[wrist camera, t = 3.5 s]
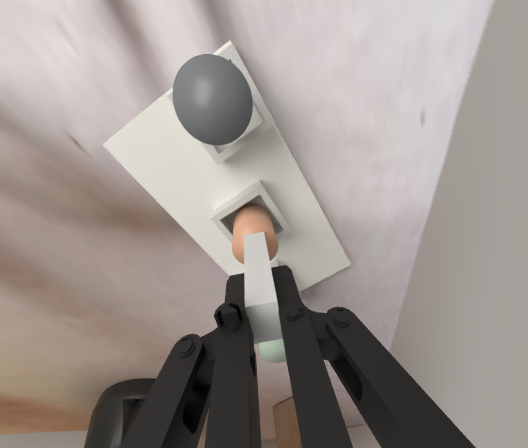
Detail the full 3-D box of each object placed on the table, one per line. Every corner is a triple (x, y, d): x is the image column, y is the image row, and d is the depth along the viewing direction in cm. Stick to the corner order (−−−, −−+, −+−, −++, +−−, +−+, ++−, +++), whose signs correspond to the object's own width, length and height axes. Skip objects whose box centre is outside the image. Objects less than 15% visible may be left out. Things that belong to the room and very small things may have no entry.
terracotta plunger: (247, 242, 21) (249, 273, 17) (226, 216, 20) (222, 243, 15) (276, 224, 21) (286, 252, 16) (257, 196, 19) (262, 218, 15)
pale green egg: (267, 321, 24) (273, 367, 19) (249, 303, 22) (251, 349, 18) (293, 307, 23) (306, 351, 19) (277, 288, 22) (287, 331, 17)
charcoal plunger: (218, 148, 15) (207, 159, 10) (183, 99, 13) (154, 88, 9) (259, 119, 14) (267, 117, 10) (228, 64, 13) (220, 33, 8)
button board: (262, 304, 28) (265, 324, 26) (110, 143, 18) (85, 147, 15) (347, 258, 26) (359, 275, 23) (230, 45, 16) (228, 28, 13)
